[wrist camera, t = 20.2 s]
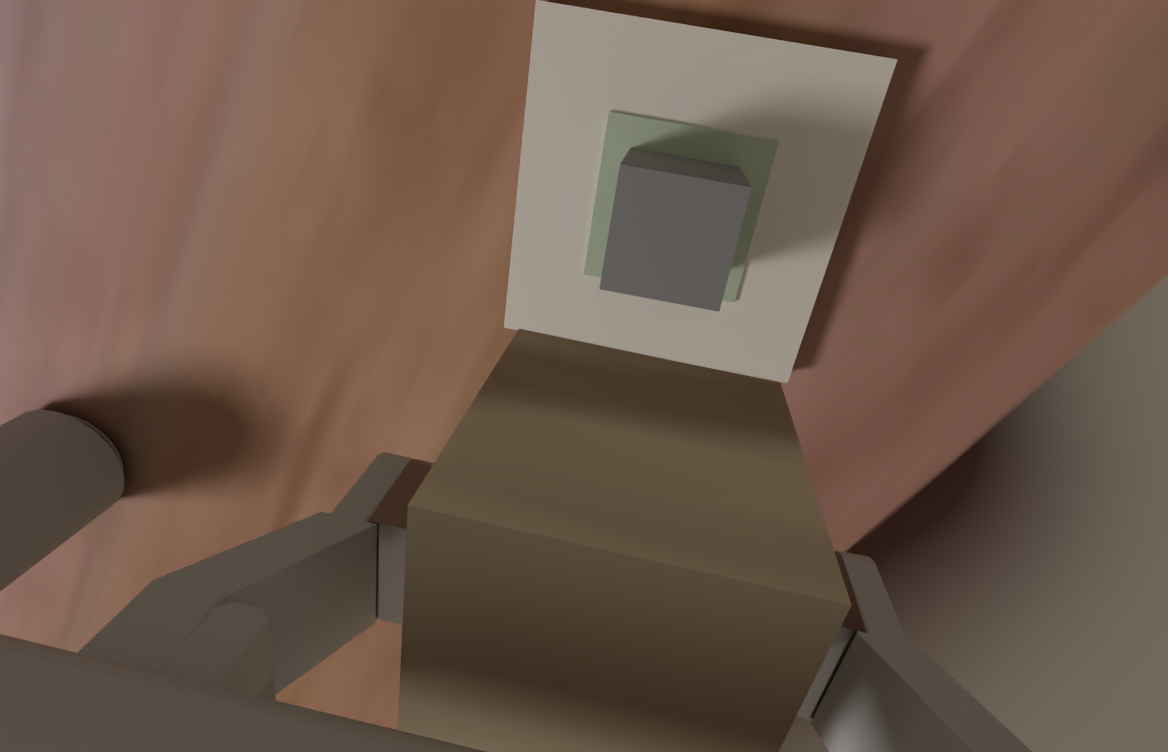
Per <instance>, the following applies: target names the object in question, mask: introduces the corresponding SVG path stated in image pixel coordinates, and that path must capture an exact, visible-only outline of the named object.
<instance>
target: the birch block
mask: <svg viewBox="0 0 1168 752" xmlns="http://www.w3.org/2000/svg"><path fill="white" fill-rule="evenodd" d="M851 606H852V605H851V602H850V599H849V596H848V592H847V589H846V586H845V583H844V580H843V577H842V574H841V571H840V567H839V564H838V561H837V558H836V555H835V552H834V549H833V546H832V542H831V539H830V536H829V533H828V530H827V527H826V524H825V521H824V518H823V514H822V511H821V508H820V505H819V502H818V499H817V496H816V493H815V489H814V486H813V483H812V480H811V477H810V474H809V471H808V468H807V464H806V461H805V458H804V455H803V452H802V449H801V446H800V443H799V439H798V436H797V433H796V430H795V427H794V424H793V421H792V418H791V414H790V411H789V408H788V405H787V402H786V399H785V396H784V393H783V390H782V386H781V383H779V382H774V381H769V380H764V379H759V378H755V377H750V376H745V375H740V374H735V373H730V372H726V371H721V370H716V369H711V368H706V367H702V366H697V365H692V364H687V363H682V362H678V361H673V360H668V359H663V358H658V357H654V356H649V355H644V354H639V353H634V352H630V351H625V350H620V349H615V348H610V347H606V346H601V345H596V344H591V343H586V342H582V341H577V340H572V339H567V338H562V337H558V336H553V335H548V334H543V333H538V332H534V331H529V330H524V329H518V331H517V333H516V334H515V336H514V337H513V339H512V341H511V342H510V344H509V345H508V347H507V348H506V350H505V352H504V353H503V355H502V356H501V358H500V360H499V361H498V363H497V364H496V366H495V368H494V369H493V371H492V372H491V374H490V375H489V377H488V379H487V380H486V382H485V383H484V385H483V387H482V388H481V390H480V391H479V393H478V394H477V396H476V398H475V399H474V401H473V402H472V404H471V406H470V407H469V409H468V410H467V412H466V413H465V415H464V417H463V418H462V420H461V421H460V423H459V425H458V426H457V428H456V429H455V431H454V432H453V434H452V436H451V437H450V439H449V440H448V442H447V444H446V445H445V447H444V448H443V450H442V452H441V453H440V455H439V456H438V458H437V459H436V461H435V463H434V464H433V466H432V467H431V469H430V471H429V472H428V474H427V475H426V477H425V478H424V480H423V482H422V483H421V485H420V486H419V488H418V490H417V491H416V493H415V494H414V496H413V497H412V499H411V501H410V502H409V504H408V508H407V531H406V554H405V578H404V601H403V625H402V648H401V671H400V695H399V718H398V730H399V731H403V732H408V733H412V734H416V735H420V736H424V737H428V738H432V739H437V740H441V741H445V742H449V743H453V744H457V745H461V746H465V747H470V748H474V749H478V750H482V751H486V752H778V751H779V749H780V747H781V745H782V743H783V741H784V739H785V737H786V735H787V733H788V731H789V729H790V727H791V725H792V723H793V721H794V719H795V717H796V715H797V713H798V711H799V709H800V707H801V705H802V703H803V701H804V699H805V697H806V695H807V693H808V691H809V689H810V687H811V685H812V683H813V681H814V679H815V677H816V675H817V673H818V671H819V669H820V667H821V665H822V663H823V661H824V659H825V657H826V655H827V653H828V651H829V649H830V647H831V645H832V643H833V641H834V639H835V637H836V635H837V633H838V631H839V629H840V627H841V625H842V623H843V621H844V619H845V618H846V616H847V614H848V612H849V610H850V608H851Z"/></svg>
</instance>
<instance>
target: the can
mask: <svg viewBox="0 0 1168 752" xmlns="http://www.w3.org/2000/svg"><path fill="white" fill-rule="evenodd" d="M123 491H124V474H123V463H122V460H121V457H120V454H119V452H118V451H117V449H116V448H115V446H114V445H113V443H112V442H111V441H110V440H109V439H108V438H107V437H106V436H105V435H104V434H103V433H102V432H101V430H99V429H98V428H96V427H95V426H93V425H92V424H90V423H89V422H87V421H85V420H82V419H80V418H77V417H75V416H72V415H65V414H62V413H60V412H55V411H48V410H41V409H40V410H35V411H29V412H25V413H23V414H21V415H20V416H18V417H16V418H14V419H12V420H10V421H8V422H6V423H4V424H2V425H1V426H0V591H1V590H3V589H4V588H5V587H7V586H8V585H9V584H11V583H12V582H13V581H14V580H16V579H17V578H18V577H20V576H21V575H22V574H24V573H25V572H26V571H27V570H29V569H30V568H31V567H33V566H34V565H35V564H36V563H38V562H39V561H40V560H42V559H43V558H44V557H46V556H47V555H48V554H49V553H51V552H52V551H53V550H55V549H56V548H57V547H59V546H60V545H61V544H62V543H64V542H65V541H66V540H68V539H69V538H70V537H72V536H73V535H74V534H75V533H77V532H78V531H79V530H81V529H82V528H83V527H85V526H86V525H87V524H88V523H90V522H91V521H92V520H94V519H95V518H96V517H98V516H99V515H100V514H101V513H103V512H104V511H105V510H107V509H108V508H109V507H111V506H112V505H113V504H114V503H116V502H117V501H118V500H119V498H120V496H121V494H122V493H123Z"/></svg>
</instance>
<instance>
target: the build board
mask: <svg viewBox="0 0 1168 752" xmlns="http://www.w3.org/2000/svg"><path fill="white" fill-rule="evenodd" d="M897 60H898V59H892V58H886V57H879V56H873V55H867V54H861V53H855V52H849V51H843V50H837V49H831V48H825V47H819V46H813V45H807V44H801V43H795V42H788V41H782V40H776V39H770V38H764V37H758V36H752V35H746V34H740V33H734V32H728V31H722V30H716V29H710V28H704V27H697V26H691V25H685V24H679V23H673V22H667V21H661V20H655V19H649V18H643V17H637V16H631V15H625V14H619V13H613V12H606V11H600V10H594V9H588V8H582V7H576V6H570V5H564V4H558V3H552V2H546V1H540V0H536V6H535V16H534V26H533V37H532V47H531V57H530V67H529V77H528V88H527V98H526V108H525V118H524V128H523V138H522V149H521V159H520V169H519V179H518V189H517V200H516V210H515V220H514V230H513V240H512V251H511V261H510V271H509V281H508V291H507V301H506V312H505V322H504V328H509V329H514V330H518V329H524V330H529V331H534V332H538V333H543V334H548V335H553V336H558V337H562V338H567V339H572V340H577V341H582V342H586V343H591V344H596V345H601V346H606V347H610V348H615V349H620V350H625V351H630V352H634V353H639V354H644V355H649V356H654V357H658V358H663V359H668V360H673V361H678V362H683V363H688V364H693V365H698V366H703V367H708V368H714V369H719V370H724V371H729V372H734V373H739V374H744V375H749V376H755V377H760V378H765V379H770V380H775V381H780V382H785V383H788V380H789V377H790V374H791V371H792V368H793V365H794V362H795V359H796V357H797V354H798V351H799V348H800V345H801V342H802V339H803V336H804V333H805V330H806V327H807V324H808V321H809V318H810V315H811V312H812V310H813V307H814V304H815V301H816V298H817V295H818V292H819V289H820V286H821V283H822V280H823V277H824V274H825V271H826V268H827V265H828V263H829V260H830V257H831V254H832V251H833V248H834V245H835V242H836V239H837V236H838V233H839V230H840V227H841V224H842V221H843V218H844V216H845V213H846V210H847V207H848V204H849V201H850V198H851V195H852V192H853V189H854V186H855V183H856V180H857V177H858V174H859V171H860V169H861V166H862V163H863V160H864V157H865V154H866V151H867V148H868V145H869V142H870V139H871V136H872V133H873V130H874V127H875V124H876V122H877V119H878V116H879V113H880V110H881V107H882V104H883V101H884V98H885V95H886V92H887V89H888V86H889V83H890V80H891V77H892V75H893V72H894V69H895V66H896V63H897ZM630 148H634V149H639V150H645V151H651V152H657V153H662V154H668V155H674V156H680V157H685V158H691V159H697V160H703V161H708V162H714V163H720V164H726V165H731V166H737V167H740V168H741V170H742V171H743V173H744V175H745V176H746V178H747V180H748V181H749V183H750V185H751V186H752V190H751V194H750V197H749V201H748V205H747V209H746V213H745V216H744V220H743V224H742V228H741V232H740V235H739V239H738V243H737V247H736V250H735V254H734V258H733V262H732V266H731V269H730V273H729V277H728V281H727V284H726V288H725V292H724V296H723V300H722V303H721V307H720V311H719V312H718V311H713V310H707V309H702V308H697V307H691V306H686V305H681V304H675V303H670V302H665V301H659V300H654V299H649V298H643V297H638V296H633V295H627V294H622V293H617V292H611V291H606V290H601V289H599V288H600V282H601V276H602V270H603V264H604V258H605V252H606V246H607V240H608V234H609V228H610V222H611V216H612V210H613V204H614V198H615V192H616V186H617V180H618V174H619V168H620V164H621V162H622V160H623V159H624V157H625V156H626V154H627V152H628V151H629V149H630Z"/></svg>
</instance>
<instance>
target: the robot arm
mask: <svg viewBox="0 0 1168 752" xmlns="http://www.w3.org/2000/svg"><path fill="white" fill-rule="evenodd" d="M433 464H434V463H430V462H426V461H422V460H418V459H412V458H408V457H404V456H400V455H395V454H391V453H386V452H384V453H381V454H379V455H378V456H376V458H375V459H374V460H373V461H372V463H371V464H370V465H369V466H368V468H367V469H366V470H365V471H364V473H363V474H362V475H361V476H360V478H359V479H358V480H357V481H356V483H355V484H354V485H353V486H352V488H351V489H350V490H349V491H348V493H347V494H346V495H345V496H344V498H343V499H342V500H341V501H340V503H339V504H338V505H337V506H336V508H335V509H334V510H333V511H332V513H331V514H330V513H325V512H320V513H317V514H315V515H312V516H310V517H307V518H305V519H302V520H300V521H297V522H295V523H293V524H290V525H288V526H285V527H283V528H280V529H278V530H275V531H273V532H270V533H268V534H265V535H263V536H261V537H258V538H256V539H253V540H251V541H248V542H246V543H243V544H241V545H238V546H236V547H234V548H231V549H229V550H226V551H224V552H221V553H219V554H216V555H214V556H211V557H209V558H206V559H204V560H202V561H199V562H197V563H194V564H192V565H189V566H187V567H184V568H182V569H179V570H177V571H175V572H172V573H170V574H167V575H165V576H162V577H160V578H157V579H155V580H153V581H152V582H151V583H150V584H149V585H148V586H147V587H146V588H144V589H143V590H142V591H141V592H140V593H139V594H138V595H137V596H136V597H135V598H134V599H133V600H132V601H131V602H130V603H129V604H128V605H127V606H126V607H125V608H124V609H123V610H121V611H120V612H119V613H118V614H117V615H116V616H115V617H114V618H113V619H112V620H111V621H110V622H109V623H108V624H107V625H106V626H105V627H104V628H103V629H102V630H101V631H100V632H98V633H97V634H96V635H95V636H94V637H93V638H92V639H91V640H90V641H89V642H88V643H87V644H86V645H85V646H84V647H83V648H82V649H81V650H80V651H79V652H78V653H76V652H72V651H68V650H64V649H60V648H55V647H51V646H47V645H43V644H39V643H35V642H31V641H26V640H22V639H18V638H14V637H10V636H6V635H2V634H0V752H486V751H482V750H478V749H474V748H470V747H465V746H461V745H457V744H453V743H449V742H445V741H441V740H437V739H432V738H428V737H424V736H420V735H416V734H412V733H408V732H403V731H399V730H395V729H391V728H387V727H383V726H379V725H374V724H370V723H366V722H362V721H358V720H354V719H350V718H345V717H341V716H337V715H333V714H329V713H325V712H321V711H316V710H312V709H308V708H304V707H300V706H296V705H292V704H287V703H283V702H279V701H276V697H275V695H276V694H277V693H278V692H280V691H281V690H282V689H284V688H285V687H287V686H288V685H289V684H291V683H292V682H294V681H295V680H296V679H298V678H299V677H301V676H302V675H303V674H305V673H306V672H307V671H309V670H310V669H312V668H313V667H314V666H316V665H317V664H319V663H320V662H321V661H323V660H324V659H326V658H327V657H328V656H330V655H331V654H332V653H334V652H335V651H337V650H338V649H339V648H341V647H342V646H344V645H345V644H346V643H348V642H349V641H351V640H352V639H353V638H355V637H356V636H357V635H359V634H360V633H362V632H363V631H364V630H366V629H367V628H369V627H370V626H371V625H373V624H374V623H376V619H378V620H383V621H388V622H393V623H398V624H403V601H404V578H405V554H406V531H407V508H408V504H409V502H410V501H411V499H412V497H413V496H414V494H415V493H416V491H417V490H418V488H419V486H420V485H421V483H422V482H423V480H424V478H425V477H426V475H427V474H428V472H429V471H430V469H431V467H432V466H433ZM835 555H836V558H837V561H838V564H839V567H840V571H841V574H842V577H843V580H844V583H845V586H846V589H847V592H848V596H849V599H850V602H851V605H852V606H851V608H850V610H849V612H848V614H847V616H846V618H845V619H844V621H843V623H842V625H841V627H840V629H839V631H838V633H837V635H836V637H835V639H834V641H833V643H832V645H831V647H830V649H829V651H828V653H827V655H826V657H825V659H824V661H823V663H822V665H821V667H820V669H819V671H818V673H817V675H816V677H815V679H814V681H813V683H812V685H811V687H810V689H809V691H808V693H807V695H806V697H805V699H804V701H803V703H802V705H801V707H800V709H799V711H798V713H797V715H796V716H798V717H802V718H806V719H809V720H812V721H811V724H812V726H813V727H814V729H815V731H816V732H817V733H818V735H819V737H820V738H821V740H822V741H823V743H824V744H825V746H826V747H827V749H828V750H829V752H1032V751H1031V750H1030V749H1029V748H1028V747H1027V746H1026V745H1024V743H1022V742H1021V741H1020V740H1019V739H1018V738H1017V737H1016V736H1015V735H1014V734H1013V733H1012V732H1011V731H1009V730H1008V729H1007V728H1006V727H1005V726H1004V725H1003V724H1002V723H1001V722H1000V721H999V720H998V719H997V718H996V717H994V716H993V715H992V714H991V713H990V712H989V711H988V710H987V709H986V708H985V707H984V706H983V705H982V704H980V703H979V702H978V701H977V700H976V699H975V698H974V697H973V696H972V695H971V694H970V693H969V692H968V691H967V690H966V689H964V688H963V687H962V686H961V685H960V684H959V683H958V682H957V681H956V680H955V679H954V678H953V677H952V676H950V675H949V674H948V673H947V672H946V671H945V670H944V669H943V668H942V667H941V666H940V665H939V664H937V662H935V661H934V660H933V659H932V658H931V657H930V656H929V655H928V654H927V653H926V652H925V651H924V650H923V649H921V648H920V647H919V646H918V645H916V644H911V643H907V641H906V638H905V636H904V633H903V631H902V629H901V626H900V624H899V621H898V619H897V616H896V614H895V611H894V609H893V606H892V604H891V601H890V599H889V597H888V594H887V592H886V589H885V587H884V584H883V582H882V579H881V577H880V574H879V572H878V570H877V567H876V565H875V562H874V561H873V560H871V558H869V557H867V556H861V555H856V554H851V553H846V552H840V551H835Z"/></svg>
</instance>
